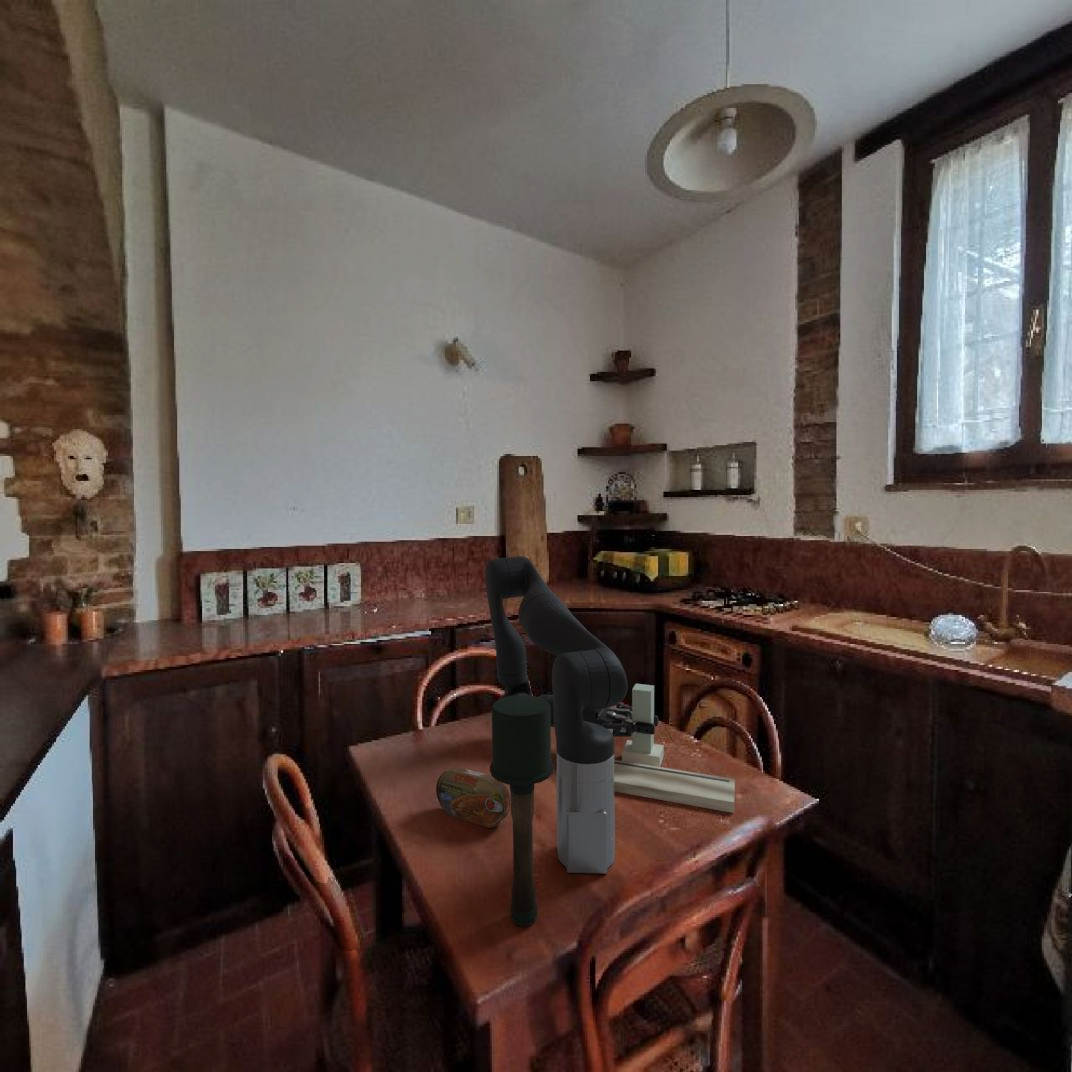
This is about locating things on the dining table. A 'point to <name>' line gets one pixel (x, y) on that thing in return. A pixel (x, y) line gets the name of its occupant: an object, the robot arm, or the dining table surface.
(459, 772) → the tin
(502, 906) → the dining table surface
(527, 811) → the stick grenade
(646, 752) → the grey pillar on base
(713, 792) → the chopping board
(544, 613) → the robot arm
